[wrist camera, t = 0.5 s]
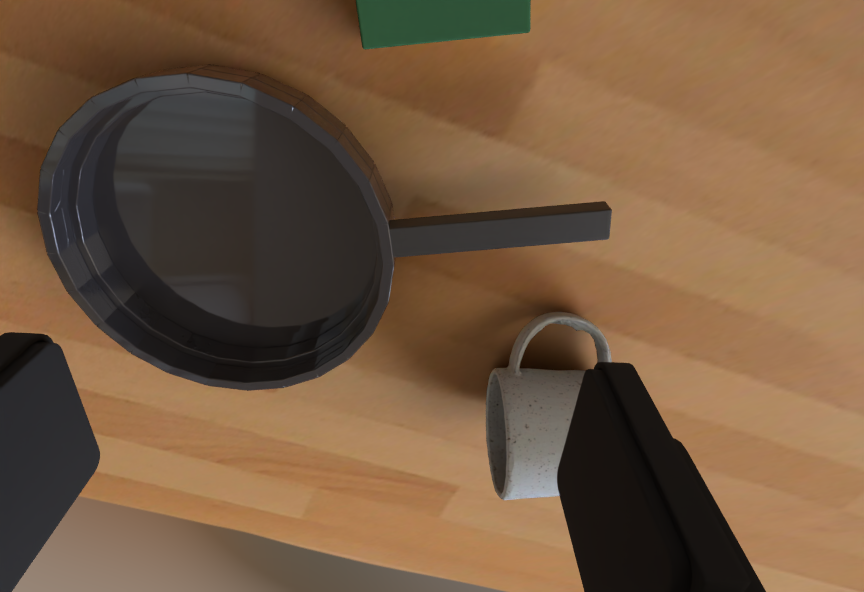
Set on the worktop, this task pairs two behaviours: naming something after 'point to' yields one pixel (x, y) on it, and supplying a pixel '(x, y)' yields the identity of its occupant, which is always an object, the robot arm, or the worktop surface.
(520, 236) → the pan handle
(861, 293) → the worktop surface
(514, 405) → the ceramic mug
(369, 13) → the sponge
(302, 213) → the pan
